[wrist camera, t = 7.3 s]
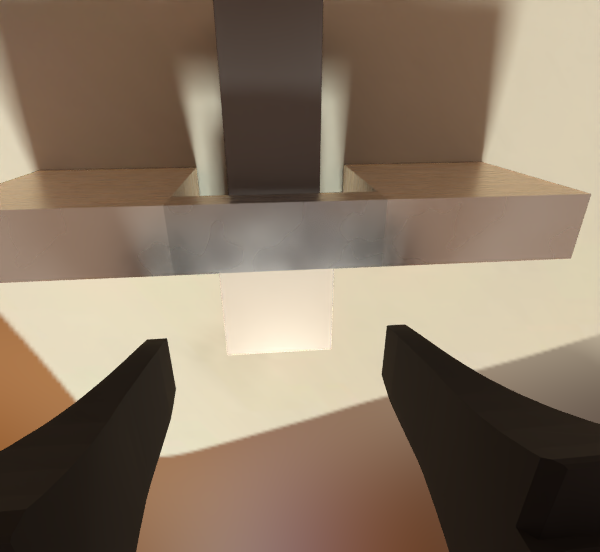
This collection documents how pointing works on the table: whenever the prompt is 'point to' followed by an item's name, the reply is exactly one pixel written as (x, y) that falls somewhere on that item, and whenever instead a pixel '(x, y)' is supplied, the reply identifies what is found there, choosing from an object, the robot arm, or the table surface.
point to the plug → (273, 162)
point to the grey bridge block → (279, 222)
